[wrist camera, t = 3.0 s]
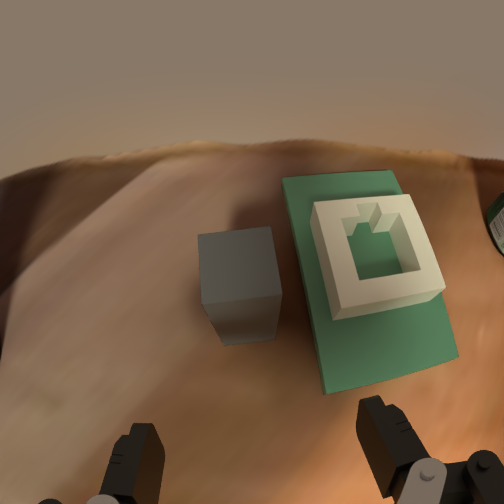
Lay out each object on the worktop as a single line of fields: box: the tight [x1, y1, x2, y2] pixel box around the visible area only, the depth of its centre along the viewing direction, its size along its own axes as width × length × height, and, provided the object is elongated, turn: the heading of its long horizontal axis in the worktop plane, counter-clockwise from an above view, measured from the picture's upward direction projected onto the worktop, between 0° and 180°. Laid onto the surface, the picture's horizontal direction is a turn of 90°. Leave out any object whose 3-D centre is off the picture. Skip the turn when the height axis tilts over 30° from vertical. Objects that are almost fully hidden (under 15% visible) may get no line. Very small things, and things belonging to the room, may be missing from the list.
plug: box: [198, 226, 283, 346], centre depth 21 cm, size 4×5×10 cm
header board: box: [282, 170, 459, 395], centre depth 25 cm, size 12×20×4 cm, turn 7°
